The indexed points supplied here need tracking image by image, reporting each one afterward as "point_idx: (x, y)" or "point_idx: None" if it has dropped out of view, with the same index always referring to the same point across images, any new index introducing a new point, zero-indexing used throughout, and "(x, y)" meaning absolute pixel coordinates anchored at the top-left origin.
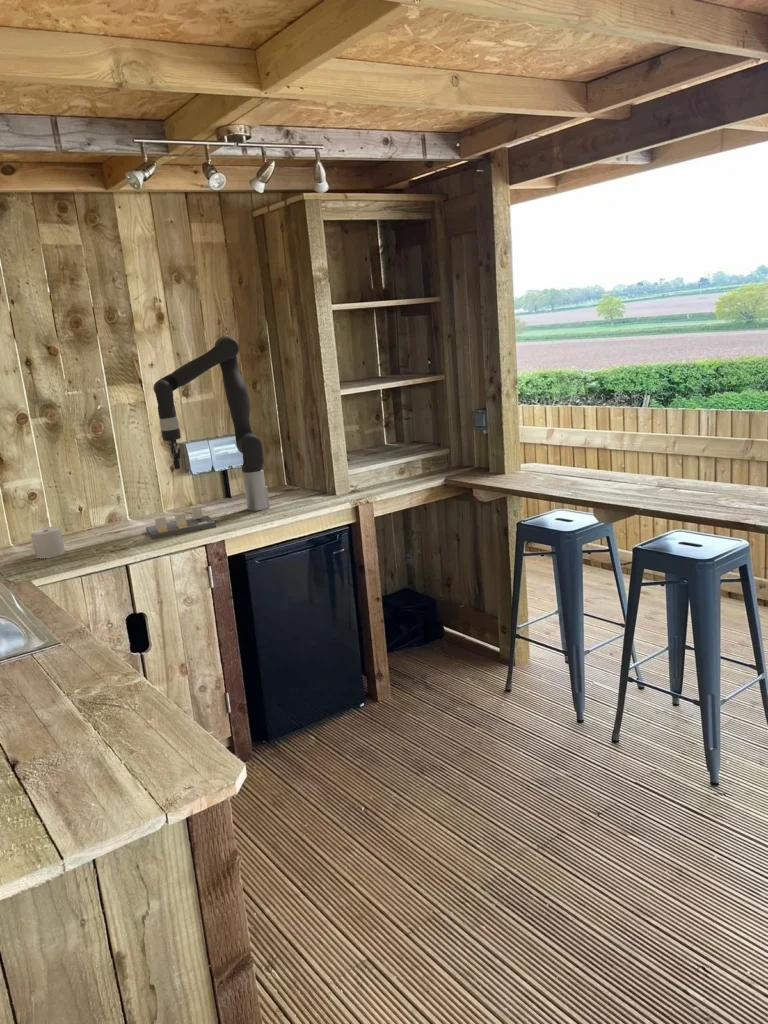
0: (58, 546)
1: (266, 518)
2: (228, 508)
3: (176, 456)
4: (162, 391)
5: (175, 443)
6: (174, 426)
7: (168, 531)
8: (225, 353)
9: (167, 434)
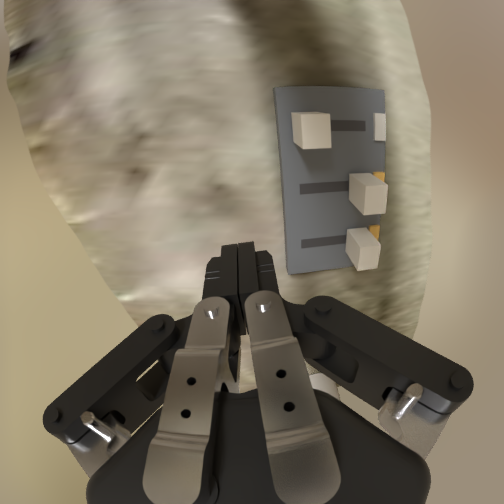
0: (334, 386)
1: None
2: (153, 20)
3: (326, 345)
4: None
5: (409, 496)
6: None
7: (379, 224)
8: None
9: None
